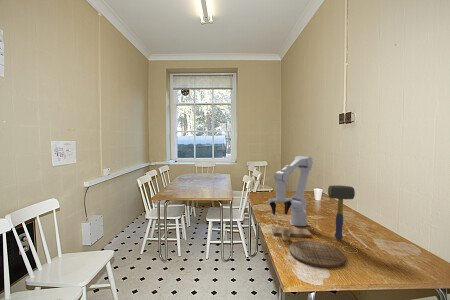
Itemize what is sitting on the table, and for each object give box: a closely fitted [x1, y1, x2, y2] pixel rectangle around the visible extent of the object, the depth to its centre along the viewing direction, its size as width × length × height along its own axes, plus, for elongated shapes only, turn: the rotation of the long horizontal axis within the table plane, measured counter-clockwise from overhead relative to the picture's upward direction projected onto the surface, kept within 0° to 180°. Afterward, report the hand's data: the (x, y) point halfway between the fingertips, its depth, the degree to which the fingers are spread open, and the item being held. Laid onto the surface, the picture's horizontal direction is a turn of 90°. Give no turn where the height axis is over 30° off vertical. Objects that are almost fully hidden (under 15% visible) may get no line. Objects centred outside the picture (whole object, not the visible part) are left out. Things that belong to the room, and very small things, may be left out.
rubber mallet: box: [327, 184, 356, 241], centre depth 136 cm, size 12×8×30 cm, turn 82°
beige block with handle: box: [281, 225, 291, 241], centre depth 139 cm, size 4×14×6 cm, turn 176°
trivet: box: [289, 239, 347, 269], centre depth 118 cm, size 25×25×2 cm
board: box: [271, 226, 313, 238], centre depth 143 cm, size 21×9×2 cm, turn 86°
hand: (279, 214), depth 147 cm, fingers open, 7 cm apart
